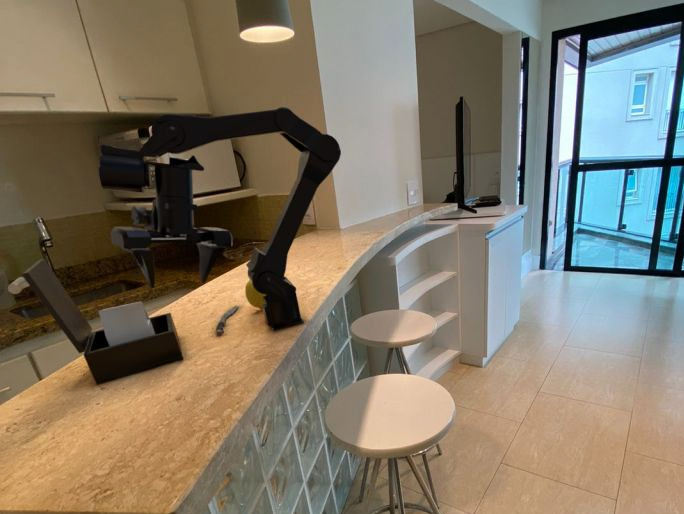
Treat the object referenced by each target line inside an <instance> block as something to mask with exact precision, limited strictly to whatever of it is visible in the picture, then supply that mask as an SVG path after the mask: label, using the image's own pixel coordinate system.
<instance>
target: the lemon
mask: <svg viewBox="0 0 684 514" xmlns="http://www.w3.org/2000/svg"><path fill="white" fill-rule="evenodd" d="M244 290H245V291H244V293H245V297H246V300H247V302H248V303H249V304H250V306H252V307H253V308H258V309H260V310H262V304H264V301H263V296H266V294H261V293H259V292H258V291H257V290H256V289H255V288H254V287H253V285H252V283H251V282H250V280H249V279H248V281H247V282H246V284H245V289H244ZM262 311H263V310H262Z"/></svg>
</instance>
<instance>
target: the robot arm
mask: <svg viewBox="0 0 684 514" xmlns="http://www.w3.org/2000/svg"><path fill="white" fill-rule="evenodd" d="M150 132H151V136H150V137H149V138H148V139H147V140H146V142H145V143H144V144H141V148H140V149H139V150H137V149H136V150H135V149H130V148H123V147H116V146H113V145H110V144H109V145H108V144H101V145H100V154H99V155H100V156H99V165H98V175H99V182H100V186H101V189H102V190H104V191H105V190H106V191H117V192H128V193H139V194H144V193H145V188H152V174H151V171H152V170H151V166H153V168H154V187H155V189H154V190H155V199H152V203H151V205H152V208H151V209H147V207H146V206H140V205H139V206H137V205H134V206H132V207H131V220H132V224H133V225H132V226H114V227H113V228H112V229H111V231H110V242H111V244H113V245H114V246H117V247H120V248H121V249H122V250H123V251H126V252H129V253H131V255H132V256H133V258H134V259H135V260H136V262H137V264H138V265H139V267H140V269H141V272H142V274H143V276H144V278H145V281H146V282H147V285H148V287H149V288H151V289H153V288H155V286H156V285H155V284H156V269H155V268H156V267H155V251H154V250H153V249H151V248H149V247H150V246H151V245H152V244H159V243H160V244H163V243H165V244H166V243H196V247H197V249H198V252H199V282H201V283H202V284H204V283H206V282H207V279H208V278H209V276H210V273H211V272H212V269H213V267H214V265H215V264H216V262H217V260H218V259H219V257H220V255H221V254H222V252H225V251H227V247H232V246H233V235H232V233H231V231H230V230H227V229H224V228H220V227H216V226H215V227H214V226H213V227H212V226H209V227H208V226H207V227H206V226H205V227H204V226H203V227H201V226H200V227H199V228H197V227H195V218H194V217H195V215H194V212H195V211H196V212H197V211H198V204H196V203H194V179H193V178H194V177H193V171H198V172H204V170H205V167H204V166H203V165H202V164H201V163H200V162H199V161H198V159H197V158H196V155H191V156H190V157H189V158H187V159H186V158H179V157H171V156H170V157H169V158H168V159H169V160H168V163H164V162H157V161H156V162H155V161H148V160H147V158H154V159H159V158H160V157H162V156H164V155H166V154H172V155H180V154H181V155H182V154H184V153H187V152H190V151H193V150H196V149H199V148H203V147H204V146H207V145H209V144H212V143H216V142H223V141H229V140H237V139H244V138H251V137H258V136H259V137H260V136H266V135H273V134H279V135H280V136H282V137H283V138H284V139H285V140H286V142H288V143H289V144H290V145H291V146H292V147H293V148H295V149H296V150H297V151H298V152H300V156H299V160H298V167H297V175H296V179H295V181H294V183H293V185H292V188H291V189H290V192H289V194H288V197H287V199H286V201H285V203H284V206H283V208H282V210H281V212H280V214H279V217H278V219H277V220H276V223H275V226H274V228H273V230H272V232H271V235H270V236H269V239H268V241H267V243H266V244H265V245H264V246H263V248H261V249H259V248H257V247H254V248H253V250H252V255H251V258H250V259H249V261H248V262H247V263H246V264H245V265H246V267H247V268H248V269H247V277H248V281H249V280H250V282H251V283H252V285H253V287H254V288H255V289H256V290H257V291H258V292H259V293H261V294H266V296H263V301H264V304H262V313H263V318H264V323H265V324H266V325H267V326H268V327H270V328H271V330H272V331H274V332H276V331H280V330H283V329H287V328H290V327H294V326H297V325H300V324H303V323H305V320H304V318H303V317H302V316H301V315H302V314H301V310H300V306H299V301H298V296H297V287H296V286H295V285H294V284H293V283H292V281H291V280H290V279H289V278H288V277H287V276H285V274H286V271H287V262H288V255H289V253H290V249H291V247H292V245H293V243H294V241H295V238H296V236H297V234H298V232H299V230H300V228H301V225H302V223H303V221H304V219H305V217H306V214H307V212H308V209H309V208H310V206H311V203H312V201H313V199H314V197H315V194H316V192H317V190H318V188H319V186H320V185H322V183H323V182H324V181H325V180H326V179H327V178H328V176H330V174H331V173H332V171H333V170H334V168H335V167H336V165H337V164H338V162H339V161H340V159H341V154H342V150H341V147H340V144H339V142H338V141H337V139H336V138H335V137H334V136H332V135H330V134H327V133H322V132H321V131H320V130H319V129H317V128H316V127H314V126H313V125H311V123H308V122H306V121H305V120H304V119H302V118H301V117H299V116H298V115H297V114H295V113H294V111H292V110H291V108H288V107H287V106H286V107H283V106H281V107H278V108H276V109H269V110H260V111H252V112H244V113H235V114H226V115H219V116H217V115H216V116H198V115H192V114H179V113H178V114H177V113H176V114H175V113H162V114H160V115H158V116H156V118H155V119H154V120H153V122H152V124H151V130H150Z"/></svg>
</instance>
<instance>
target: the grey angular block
mask: <svg viewBox="0 0 684 514" xmlns="http://www.w3.org/2000/svg"><path fill="white" fill-rule="evenodd" d="M97 313H98V315H99V318H100V321H101V325H102V329H104V332H105V336H106V338H107V341H108V343H109V346H114V345H118V344H122V343H125V342H129V341H133V340H137V339H141V338H144V337H148V336H152V335H155V332H154V329H153V326H152V323H151V321H150V318H151V317H150V316H149V314H148V312H147V310H146V308H145V305H144V303H143V301H142V300H140V301H136V302H132V303H127V304H122V305H118V306H113V307H108V308H103V309H99V310H98V311H97Z"/></svg>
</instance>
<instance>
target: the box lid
mask: <svg viewBox="0 0 684 514" xmlns="http://www.w3.org/2000/svg"><path fill="white" fill-rule="evenodd" d="M28 287H30V288H31V289H32V291H33V293H35V295H36V296H37V297H38V299H39V301H40V302H41V303H42V304H43V306H44V307H45V309H46V310H47V311H48V313H49V315H51V317H52V318H53V319H54V321H55V322H56V324H57V325H58V327H59V329H61V330H62V332H63V333H64V335H65V336H66V337H67V339H68V340H69V341H70V343H71V344H72V345H73V347H74V349H76V351H77V352H78V354H82V353H84V352H85V349H86V346H87V343H88V340H89V337H90V334H91V332H93V328H92V326H91V324H90V323H89V321H88V320H87V319H86V317H85V316H84V315H83V313H82V312H81V310H80V308H79V307H78V305H77V304H76V303H75V301H74V300H73V298H72V297H71V295H70V294H69V293H68V292H67V290H66V288H65V287H64V285H63V284H62V283H61V281H60V280H59V278H58V277H57V275H56V274H55V272H54V271H53V270H52V268H51V267H50V265H49V263H48V262H47V261H46V259H45V258H40V259H39V260H37V261H36V262H35V263H34V264H32V265H31V266H30V267H28V269H26V270H25V271H24V272H22V273H21V276H19V277H18V278H16V279H15V280H14V281H12V282H11V283H10V284H9V285H8V287H7V290H8V292H9V293H10V294H13V295H18V294H20V293H21V292H22V291H23V290H24V289H25V288H28Z"/></svg>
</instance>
